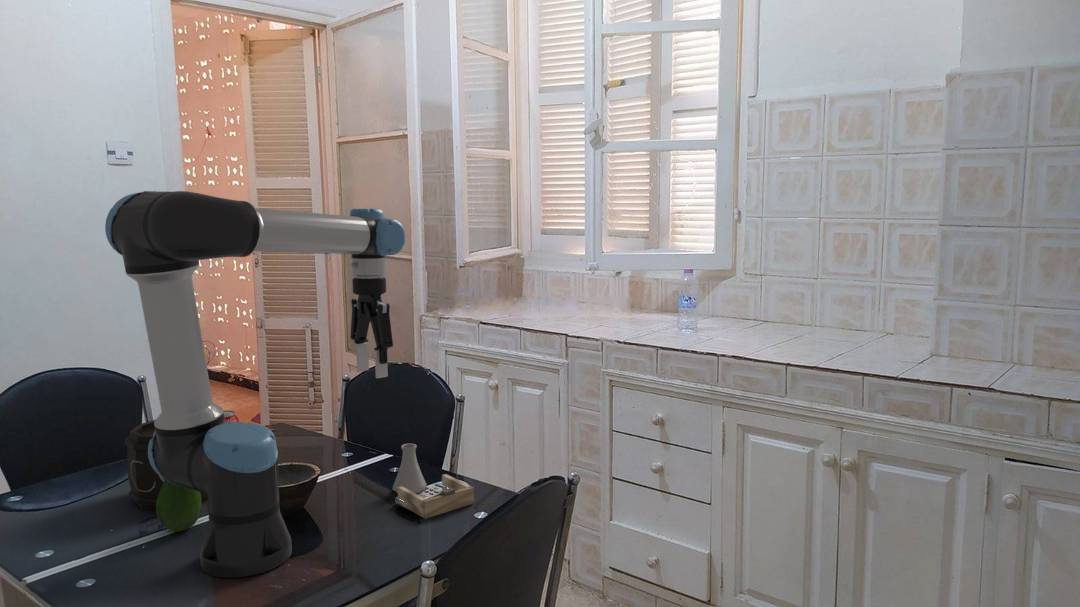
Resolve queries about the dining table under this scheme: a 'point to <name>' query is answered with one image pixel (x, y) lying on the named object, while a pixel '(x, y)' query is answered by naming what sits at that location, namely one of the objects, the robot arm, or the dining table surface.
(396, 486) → the flask
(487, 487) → the dining table surface
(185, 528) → the avocado
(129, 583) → the dining table surface
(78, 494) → the dining table surface
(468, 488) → the u-shaped wooden frame
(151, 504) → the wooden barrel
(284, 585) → the dining table surface
